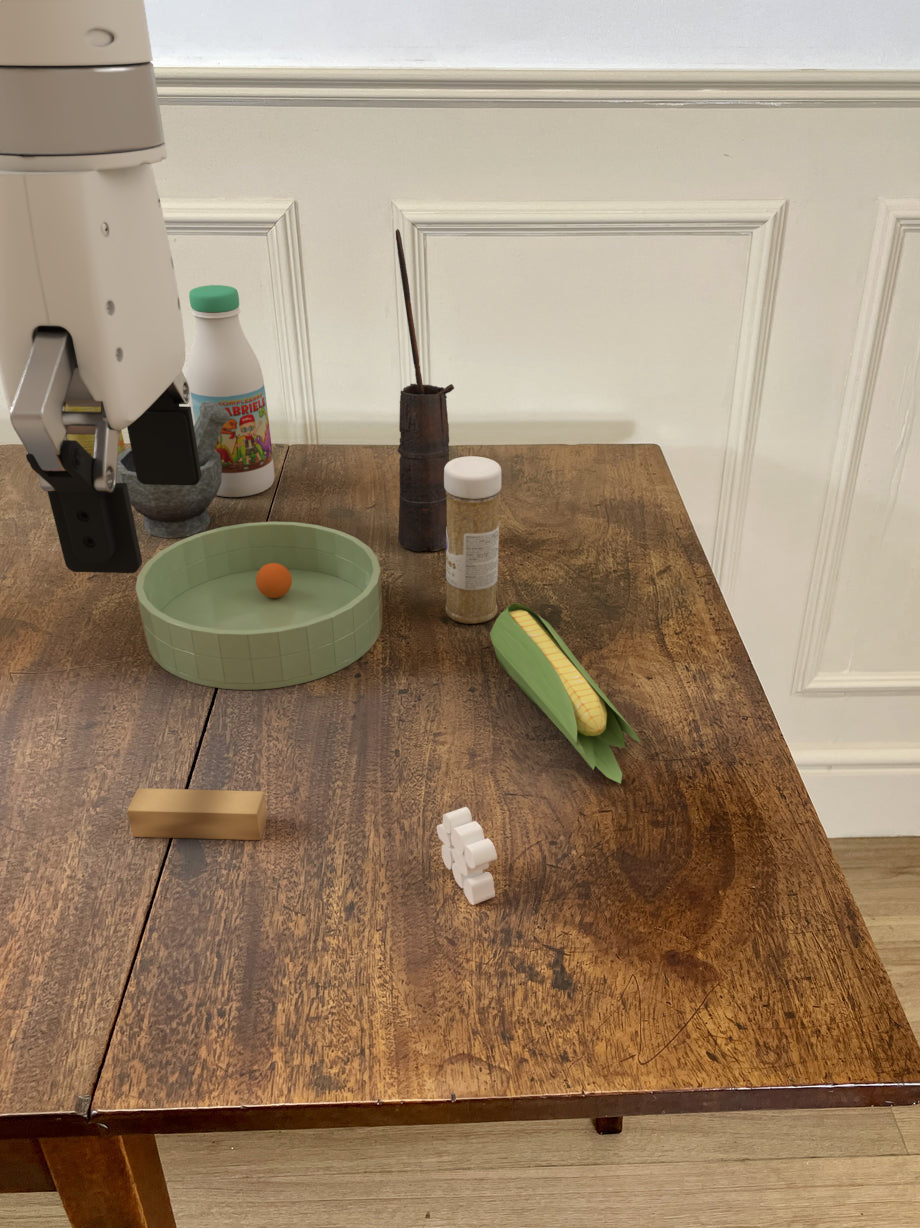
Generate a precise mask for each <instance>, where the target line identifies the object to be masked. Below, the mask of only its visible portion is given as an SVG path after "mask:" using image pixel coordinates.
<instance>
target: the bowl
mask: <svg viewBox="0 0 920 1228" xmlns="http://www.w3.org/2000/svg"><path fill="white" fill-rule="evenodd" d="M269 563H278V564H281V565H283V566H284V567H286V568H287V569H288V571H289V572H290V574H291V577H292V585H291V588H290V590H289V591H288V592H287V593H286V594H285V595H284V596H282V597H279V598H269V597H267V596H265V595H263V594H262V593H261V592H260V591H259V589H258V587H257V584H256V576H257V573H258V571H259V570H260V569H261V568H262V567H263V566H264V565H266V564H269ZM381 571H382V570H381V565H380V561H379V558H378V556H377V555H376V553H375V552H374V550H372V548H371V547H370V546H368V545H367V544H365V543H364V542H363V541H362V540H360V539H359V538H357V537H356V536H354V535H351V534H348V533H346V532H344V531H341V530H339V529H334V528H331V527H326V526H323V525H318V524H312V523H304V522H297V521H260V522H259V521H258V522H245V523H239V524H233V525H227V526H221V527H217V528H213V529H210V530H205V531H201V532H199V533H196V534H194V535H191V536H188V537H184V538H183V539H180V540H177V541H175V542H174V543H172V544H170V545H168V546H166V547H165V548H163V549H161V550H159V551H158V552H157V553H156V554H155V555H153V556H152V557H150V559H149V560H148V561H146V563H145V564H144V565H143V567H142V568H141V570H140V571H139V573H138V574H137V577H136V583H135V594H136V599H137V604H138V610H139V615H140V619H141V625H142V630H143V634H144V639H145V642H146V645H147V649H148V652H149V654H150V656H151V657H152V659H153V660H154V662H156V663H157V664H158V665H159V666H160V667H161V668H162V669H164V670H165V671H167V672H168V673H169V674H171V675H173V676H176V677H178V678H179V679H182V680H185V681H186V682H190V683H193V684H197V685H201V686H204V687H210V688H217V689H222V690H234V691H235V690H236V691H258V690H270V689H279V688H280V689H281V688H286V687H292V686H297V685H301V684H305V683H309V682H312V681H315V680H319V679H323V678H324V677H327V676H329V675H332V674H335V673H337V672H339V671H341V670H343V669H345V668H346V667H349V666H350V665H352V664H353V663H355V662H356V661H358V660H359V659H361V658H362V657H363V656H364V655H366V653H368V651H369V650H370V649H372V647H373V646H374V645H375V643H376V642H377V641H378V638H379V637H380V635H381V631H382V629H383V621H384V620H383V618H384V609H383V588H382V572H381Z"/></svg>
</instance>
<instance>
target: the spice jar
mask: <svg viewBox="0 0 920 1228" xmlns="http://www.w3.org/2000/svg"><path fill="white" fill-rule="evenodd" d="M444 488H445V490H446V495H447V527H446V548H445V578H446V603H445V613H446V615H447V616H448V618H451V619H452V620H453V621H455V622H458V623H461V624H467V625H468V624H480V623H486V622H488V621H491V620H492V619H494V618H495V616H496V615H497V614H498V605H497V582H498V578H499V575H498V573H499V547H500V545H499V543H500V541H499V540H500V522H499V515H500V514H499V507H500V506H499V505H500V495H501V489H502V467H501V465H500V463H498V462H497V461H495V460H494V459H491V458H488V457H483V456H477V455H472V456H461V457H456V458H453V459H451V460H449V462H448V463H447V464H446V465H445V468H444Z"/></svg>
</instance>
